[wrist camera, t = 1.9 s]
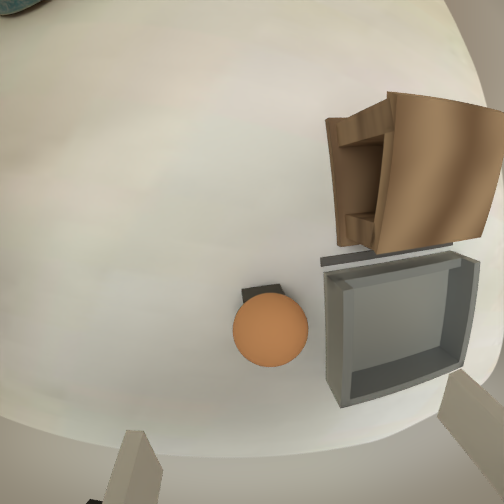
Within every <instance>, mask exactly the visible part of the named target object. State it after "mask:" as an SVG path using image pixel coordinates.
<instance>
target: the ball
mask: <svg viewBox="0 0 504 504" xmlns="http://www.w3.org/2000/svg"><path fill="white" fill-rule="evenodd" d="M307 336H308V322H307V318H306V316H305V314H304V312H303V310H302V308H301V307H300V306H299V305H298V304H297V303H296V302H295V301H294V300H292V299H291V298H289V297H287V296H285V295H282V294H278V293H263V294H259V295H256V296H254V297H252V298H251V299H249V300H248V301H247V302H245V303H244V304H243V305H242V306H241V308H240V309H239V310H238V312H237V314H236V316H235V319H234V323H233V337H234V341H235V344H236V346H237V348H238V350H239V351H240V353H241V354H242V355H243V356H244V357H245V358H246V359H248V360H249V361H250V362H252V363H254V364H257V365H259V366H264V367H277V366H281V365H284V364H286V363H288V362H290V361H292V360H293V359H294V358H296V357H297V356H298V355H299V353H300V352H301V351H302V349H303V348H304V346H305V344H306V341H307Z"/></svg>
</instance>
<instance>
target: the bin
mask: <svg viewBox="0 0 504 504" xmlns="http://www.w3.org/2000/svg"><path fill="white" fill-rule="evenodd" d="M479 272H480V261H477V260H474V259H472V258H469V257H466V256H464V255H461V254H458V253H456V252H453V251H446V252H440V253H435V254H430V255H424V256H419V257H413V258H407V259H402V260H396V261H390V262H384V263H378V264H372V265H366V266H360V267H354V268H348V269H342V270H335V271H329V272H324V293H325V326H326V381H327V383H328V385H329V387H330V389H331V391H332V393H333V395H334V397H335V399H336V401H337V403H338V405H339V407H340V408H344V407H348V406H352V405H356V404H359V403H363V402H366V401H370V400H373V399H376V398H380V397H383V396H386V395H389V394H392V393H395V392H398V391H401V390H404V389H407V388H410V387H413V386H416V385H418V384H421V383H424V382H426V381H429V380H431V379H434V378H436V377H439V376H441V375H444V374H446V373H449V372H451V371H453V370H456V369H458V368H460V367H462V366H463V364H464V360H465V356H466V352H467V347H468V343H469V338H470V333H471V328H472V323H473V317H474V311H475V304H476V297H477V290H478V281H479Z"/></svg>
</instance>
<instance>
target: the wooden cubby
mask: <svg viewBox="0 0 504 504" xmlns="http://www.w3.org/2000/svg"><path fill="white" fill-rule="evenodd" d="M325 122H326V130H327V137H328V145H329V154H330V163H331V172H332V182H333V193H334V204H335V217H336V232H337V245H338V246H340V247H344V246H351V245H359V244H361V245H363V246H365V247H367V248H370V249H372V250H374V252H375V253H376V255H377V254H383V253H390V252H396V251H402V250H408V249H415V248H421V247H427V246H433V245H439V244H445V243H450V242H456V241H462V240H468V239H473V238H479V237H481V235H482V232H483V230H484V227H485V224H486V221H487V217H488V214H489V211H490V208H491V204H492V201H493V197H494V194H495V190H496V186H497V183H498V179H499V175H500V170H501V166H502V161H503V157H504V112H501V111H498V110H494V109H490V108H486V107H482V106H478V105H473V104H469V103H464V102H459V101H453V100H448V99H442V98H436V97H430V96H423V95H415V94H407V93H398V92H388V91H387V99H385V100H383V101H381V102H379V103H377V104H375V105H373V106H371V107H369V108H366V109H364V110H362V111H360V112H358V113H356V114H354V115H352V116H350V117H348V118H327V119H326V120H325Z"/></svg>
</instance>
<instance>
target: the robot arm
mask: <svg viewBox="0 0 504 504" xmlns="http://www.w3.org/2000/svg"><path fill="white" fill-rule="evenodd" d="M437 418H438V419H439V420H440V421H441V422H442V423H443V425H444V426H445V427H446V429H447V430H448V431H449V432H450V434H451V435H452V436H453V437H454V438H455V440H456V441H457V442H458V443H459V445H460V446H461V447H462V448H463V450H464V451H465V452H466V453H467V455H468V456H469V457H470V459H471V460H472V461H473V462H474V464H475V465H476V466H477V467H478V469H479V470H480V471H481V473H482V474H483V475H484V476H485V478H486V479H487V480H488V482H489V483H490V484H491V486H492V487H493V488H494V489H495V491H496V492H497V493H498V495H499V496H500V497H501V499H502V500H503V501H504V407H503V406H502V405H501V404H500V403H499V402H497V401H496V400H495V399H494V398H493V397H492V396H491V395H490V394H489V393H488V392H487V391H485V390H484V389H483V388H482V387H481V386H480V385H479V384H478V383H477V382H476V381H474V380H473V379H472V378H471V377H470V376H469V375H468V374H467V373H465V372H464V371H463V370H462V369H460V370H457V371H455V372H453V373H450V374H449V377H448V381H447V385H446V388H445V392H444V395H443V399H442V402H441V406H440V409H439V412H438V415H437ZM162 474H163V469H162V467H161V465H160V463H159V461H158V459H157V457H156V455H155V453H154V451H153V449H152V447H151V445H150V443H149V441H148V439H147V437H146V435H145V433H144V431H131V430H126V433H125V436H124V439H123V442H122V445H121V447H120V451H119V453H118V456H117V459H116V462H115V465H114V468H113V471H112V474H111V477H110V480H109V483H108V486H107V489H106V493H105V496H104V499H103V501H98V500H93V499H90V500H89V501H88V502H87V503H86V504H157V503H158V497H159V491H160V486H161V480H162Z"/></svg>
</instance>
